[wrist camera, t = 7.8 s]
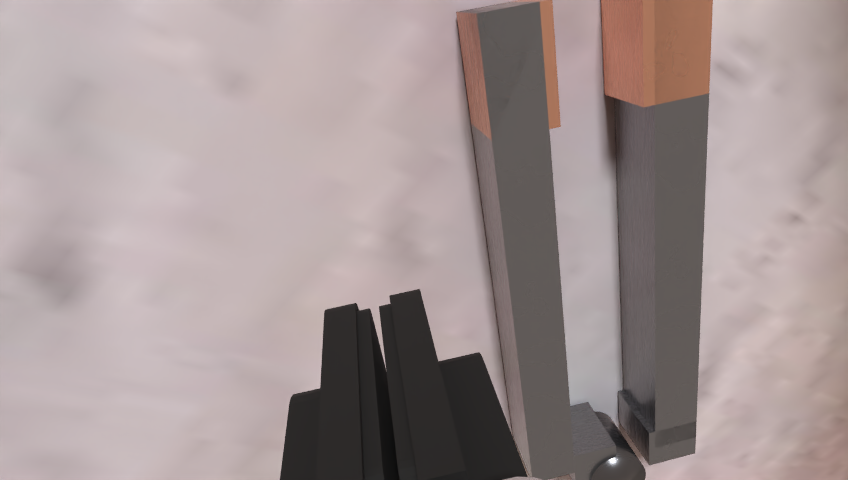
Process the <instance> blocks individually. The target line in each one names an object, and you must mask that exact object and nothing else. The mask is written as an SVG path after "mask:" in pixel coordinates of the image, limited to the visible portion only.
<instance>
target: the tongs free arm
mask: <svg viewBox="0 0 848 480" xmlns="http://www.w3.org/2000/svg"><path fill="white" fill-rule="evenodd" d="M456 13H457V21H458V28H459V35H460V43H461V50H462V58H463V65H464V73H465V80H466V88H467V95H468V103H469V110H470V118H471V125H472V133H473V140H474V148H475V155H476V163H477V170H478V178H479V185H480V193H481V200H482V208H483V215H484V223H485V230H486V238H487V245H488V252H489V260H490V267H491V275H492V282H493V290H494V297H495V305H496V312H497V320H498V327H499V335H500V342H501V350H502V357H503V365H504V372H505V380H506V387H507V395H508V402H509V410H510V417H511V425H512V432H513V437H514V440H515V442H516V444H517V447H518V449H519V452H520V454H521V456H522V459H523V461H524V463H525V466H526V468H527V471H528V473H529V475H530V477H535V478H538V479H542V480H548V479H551V478H555V477H559V476H563V475H567V474H569V475H570V477H571V479H572V480H645V476H646V472H645V469H644V467H643V465H642V464H641V462H640V461H639V459H638V458H637V456H636V455H635V453H634V452H633V450H632V449H631V447H630V446H629V444H628V443H627V441H626V440H625V438H624V437H623V436H622V434H621V433H620V431H619V430H618V428H617V427H616V425H615V424H614V422H613V421H612V419H611V418H610V417H609V416H608V415H606V414H604V413H601V412H594V411H593V409H592V408H591V406H590V404H589V403H588V402H586V403H582V404H578V405H574V406H570V400H569V387H568V373H567V360H566V347H565V333H564V320H563V307H562V293H561V280H560V267H559V253H558V240H557V227H556V213H555V200H554V187H553V173H552V160H551V147H550V133H549V129H552V128H556V127H561V126H560V111H559V96H558V81H557V66H556V51H555V36H554V21H553V5H552V0H518V1H513V2H508V3H503V4H497V5H492V6H487V7H481V8H476V9H471V10H466V11H460V12H456Z"/></svg>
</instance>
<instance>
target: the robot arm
mask: <svg viewBox="0 0 848 480" xmlns="http://www.w3.org/2000/svg"><path fill="white" fill-rule="evenodd" d="M390 303H391V304H388V305H383V306H379V310H380V319H381V327H382V336H383V345H384V353H385V362H386V368H385V364H384V360H383V356H382V352H381V349H380V345H379V341H378V337H377V333H376V329H375V325H374V321H373V317H372V314H371V310H370V309H365V310H360V311H359V309H358V306H357V304H356V303H354V304H349V305H345V306H340V307H336V308H331V309H327V310H325V313H324V330H323V349H322V368H321V387H320V389H316V390H311V391H307V392H302V393H298V394H294V395H293V396H292V397H291V400H290V404H289V412H288V420H287V428H286V436H285V444H284V452H283V460H282V468H281V476H280V480H542V479H538V478H535V477H527V474H526V472H525V469H524V466H523V464H522V461H521V459H520V456H519V453H518V451H517V448H516V445H515V443H514V440H513V437H512V435H511V432H510V429H509V427H508V424H507V421H506V419H505V416H504V413H503V411H502V408H501V405H500V403H499V400H498V397H497V395H496V392H495V390H494V387H493V384H492V382H491V379H490V376H489V374H488V371H487V368H486V366H485V363H484V360H483V358H482V356H481V354H480V353H474V354H470V355H465V356H461V357H456V358H452V359H448V360H443V361H439V362H438V359H437V355H436V351H435V347H434V343H433V339H432V335H431V331H430V327H429V324H428V320H427V316H426V312H425V308H424V304H423V300H422V296H421V292H420V289H418V290H413V291H409V292H404V293H399V294H395V295H390ZM386 370H387V372H386Z"/></svg>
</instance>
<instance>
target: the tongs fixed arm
mask: <svg viewBox="0 0 848 480" xmlns="http://www.w3.org/2000/svg"><path fill="white" fill-rule="evenodd" d="M712 4H713V0H601V13H602V39H603V65H604V91H605V95H608V96H611V97H614V100H615V131H616V163H617V195H618V227H619V258H620V290H621V322H622V354H623V385H624V390H622V391H618V404H619V422H620V423H621V425H622V426H623V428H624V429H625V431H626V432H627V434H628V435H629V437H630V438H631V439H632V441H633V442H634V444H635V445H636V447H637V448H638V450H639V451H640V452H641V454H642V455H643V457H644V458H645V460H646V461H647V463H648V464H649V465H652V464H656V463H660V462H663V461H667V460H671V459H675V458H679V457H682V456H686V455H690V454H694V453H695V443H696V417H697V391H698V365H699V339H700V313H701V288H702V262H703V236H704V210H705V184H706V159H707V133H708V107H709V81H710V55H711V30H712Z"/></svg>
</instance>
